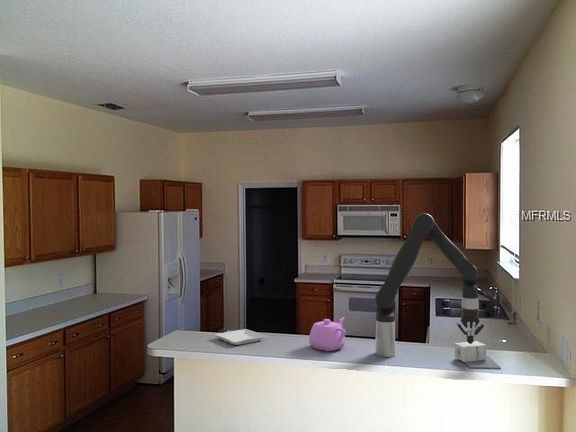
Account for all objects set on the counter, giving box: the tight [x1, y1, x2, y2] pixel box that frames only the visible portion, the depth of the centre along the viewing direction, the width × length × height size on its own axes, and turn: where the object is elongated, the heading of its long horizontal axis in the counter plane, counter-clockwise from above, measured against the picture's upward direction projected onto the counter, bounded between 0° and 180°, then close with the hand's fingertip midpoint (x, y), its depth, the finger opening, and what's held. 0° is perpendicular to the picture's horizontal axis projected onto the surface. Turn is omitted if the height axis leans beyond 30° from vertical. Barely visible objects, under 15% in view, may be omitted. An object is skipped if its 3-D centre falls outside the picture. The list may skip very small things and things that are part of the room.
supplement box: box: [454, 340, 487, 363], centre depth 235 cm, size 7×7×13 cm
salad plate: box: [214, 328, 266, 346], centre depth 273 cm, size 21×21×3 cm
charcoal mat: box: [463, 355, 502, 370], centre depth 232 cm, size 14×18×1 cm
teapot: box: [308, 316, 347, 352], centre depth 258 cm, size 23×21×15 cm
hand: (470, 343), depth 232 cm, fingers closed
